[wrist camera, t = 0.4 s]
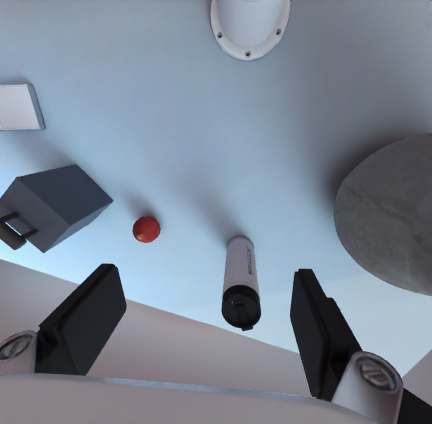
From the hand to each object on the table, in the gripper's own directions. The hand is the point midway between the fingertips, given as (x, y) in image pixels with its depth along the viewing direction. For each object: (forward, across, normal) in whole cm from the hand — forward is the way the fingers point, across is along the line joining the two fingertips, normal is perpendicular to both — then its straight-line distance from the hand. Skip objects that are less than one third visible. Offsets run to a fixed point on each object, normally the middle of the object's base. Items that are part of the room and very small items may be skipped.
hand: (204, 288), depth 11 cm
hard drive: (+36, +45, -13) cm, 59 cm away
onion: (+37, +18, +12) cm, 43 cm away
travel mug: (+37, -2, +19) cm, 41 cm away
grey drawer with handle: (+27, +30, +2) cm, 41 cm away
